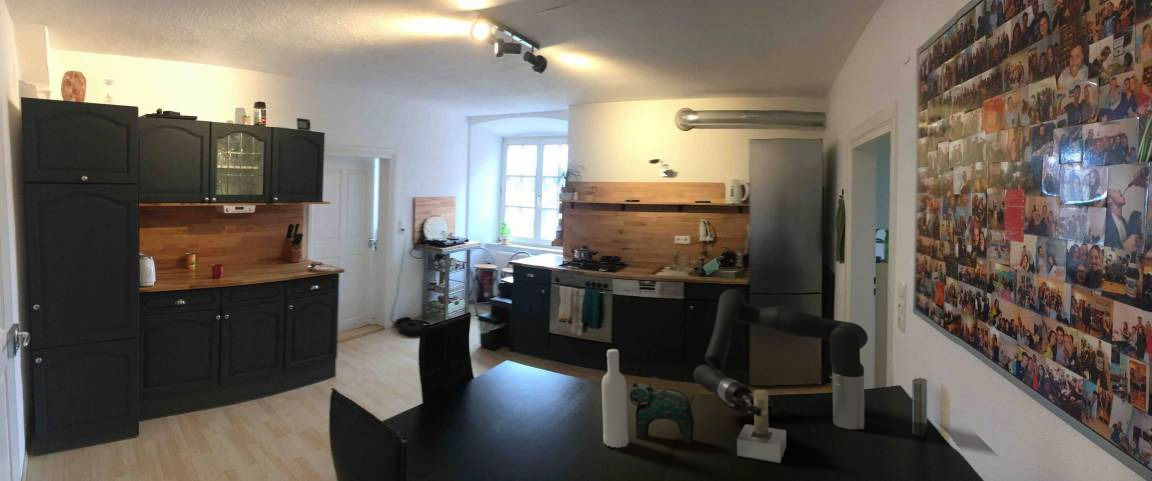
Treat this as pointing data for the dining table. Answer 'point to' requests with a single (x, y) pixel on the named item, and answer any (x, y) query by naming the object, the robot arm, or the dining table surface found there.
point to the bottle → (614, 403)
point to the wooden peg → (762, 420)
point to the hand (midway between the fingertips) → (766, 411)
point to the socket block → (761, 444)
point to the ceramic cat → (661, 409)
